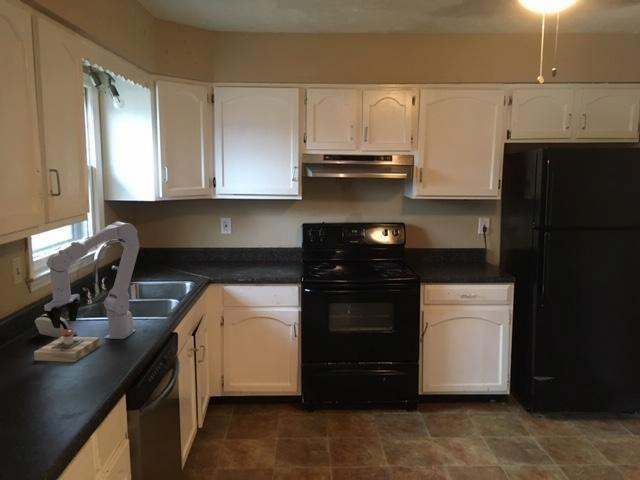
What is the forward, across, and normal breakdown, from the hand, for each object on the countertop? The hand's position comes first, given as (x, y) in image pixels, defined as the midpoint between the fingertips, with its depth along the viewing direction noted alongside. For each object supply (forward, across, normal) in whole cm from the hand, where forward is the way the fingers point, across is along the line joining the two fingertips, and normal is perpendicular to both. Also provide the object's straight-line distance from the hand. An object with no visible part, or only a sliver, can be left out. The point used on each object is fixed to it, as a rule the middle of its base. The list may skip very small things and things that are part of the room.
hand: (65, 324), depth 177 cm
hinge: (+10, +11, +16) cm, 22 cm away
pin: (+9, -3, -3) cm, 10 cm away
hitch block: (+9, -3, -3) cm, 10 cm away
